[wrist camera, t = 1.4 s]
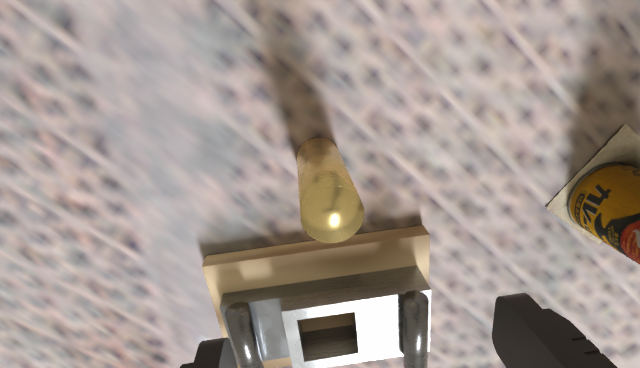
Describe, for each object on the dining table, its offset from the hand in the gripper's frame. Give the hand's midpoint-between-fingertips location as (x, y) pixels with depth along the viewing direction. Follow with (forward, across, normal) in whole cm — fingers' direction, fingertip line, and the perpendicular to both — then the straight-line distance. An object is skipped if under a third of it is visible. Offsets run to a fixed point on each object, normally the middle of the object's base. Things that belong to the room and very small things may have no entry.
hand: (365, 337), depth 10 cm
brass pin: (+16, 0, 0) cm, 17 cm away
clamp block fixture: (+17, +1, +13) cm, 21 cm away
